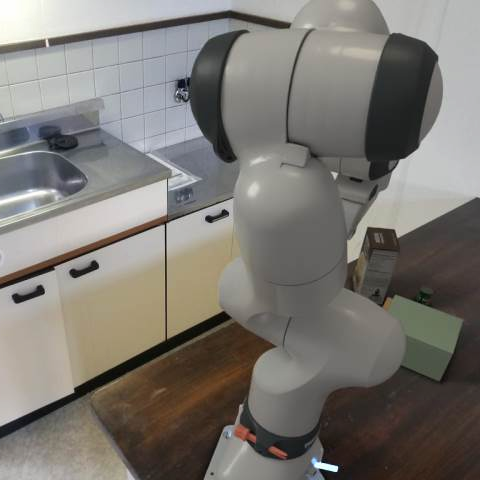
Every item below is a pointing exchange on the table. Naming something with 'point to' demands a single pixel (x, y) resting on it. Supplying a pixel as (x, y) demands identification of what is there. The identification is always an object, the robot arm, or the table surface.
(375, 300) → the coffee box
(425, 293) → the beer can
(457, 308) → the table surface
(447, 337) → the cabinet
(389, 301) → the drawer
